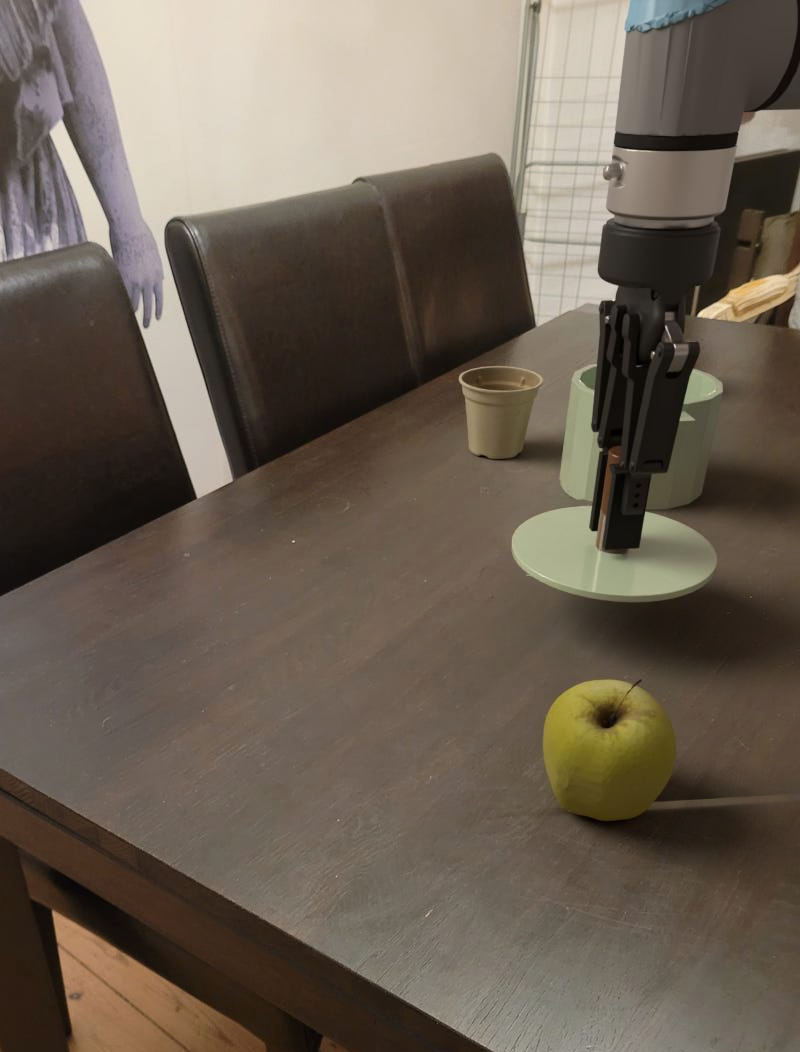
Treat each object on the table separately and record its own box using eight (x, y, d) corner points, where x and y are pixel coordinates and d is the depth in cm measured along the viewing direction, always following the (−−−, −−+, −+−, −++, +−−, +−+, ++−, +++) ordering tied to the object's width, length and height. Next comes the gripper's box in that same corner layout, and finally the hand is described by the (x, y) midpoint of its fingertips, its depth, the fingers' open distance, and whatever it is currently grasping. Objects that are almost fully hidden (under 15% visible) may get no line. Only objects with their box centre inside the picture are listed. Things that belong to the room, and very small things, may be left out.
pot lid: (669, 513, 84) (688, 411, 79) (749, 603, 71) (778, 487, 66) (491, 523, 83) (499, 421, 78) (538, 615, 70) (551, 499, 65)
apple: (590, 725, 66) (644, 627, 59) (666, 817, 61) (735, 724, 54) (497, 761, 63) (541, 663, 55) (570, 861, 58) (629, 769, 51)
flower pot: (491, 471, 107) (498, 396, 103) (438, 447, 114) (442, 375, 109) (552, 453, 112) (561, 380, 107) (497, 431, 118) (503, 361, 114)
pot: (661, 450, 112) (679, 351, 106) (735, 522, 95) (761, 410, 89) (538, 455, 111) (549, 356, 105) (590, 529, 94) (607, 416, 88)
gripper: (572, 202, 70) (541, 499, 82) (648, 241, 57) (597, 588, 69) (673, 198, 70) (626, 495, 83) (772, 236, 57) (699, 582, 69)
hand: (613, 537), depth 76 cm, fingers closed on pot lid, 3 cm apart
